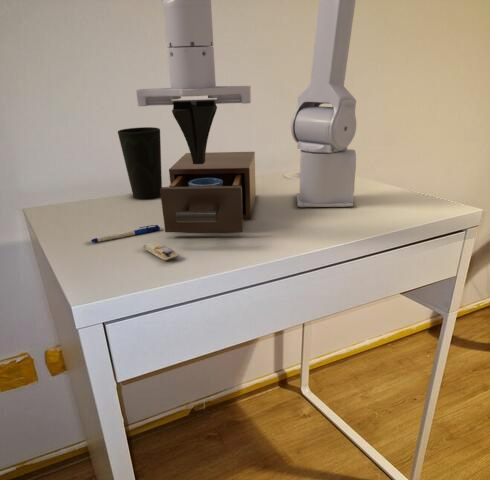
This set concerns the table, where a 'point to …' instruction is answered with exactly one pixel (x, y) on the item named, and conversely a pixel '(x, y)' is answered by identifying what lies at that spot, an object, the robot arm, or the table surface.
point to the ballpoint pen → (128, 233)
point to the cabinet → (223, 171)
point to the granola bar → (160, 250)
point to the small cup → (205, 182)
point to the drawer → (204, 204)
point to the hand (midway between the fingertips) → (199, 162)
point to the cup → (142, 160)
